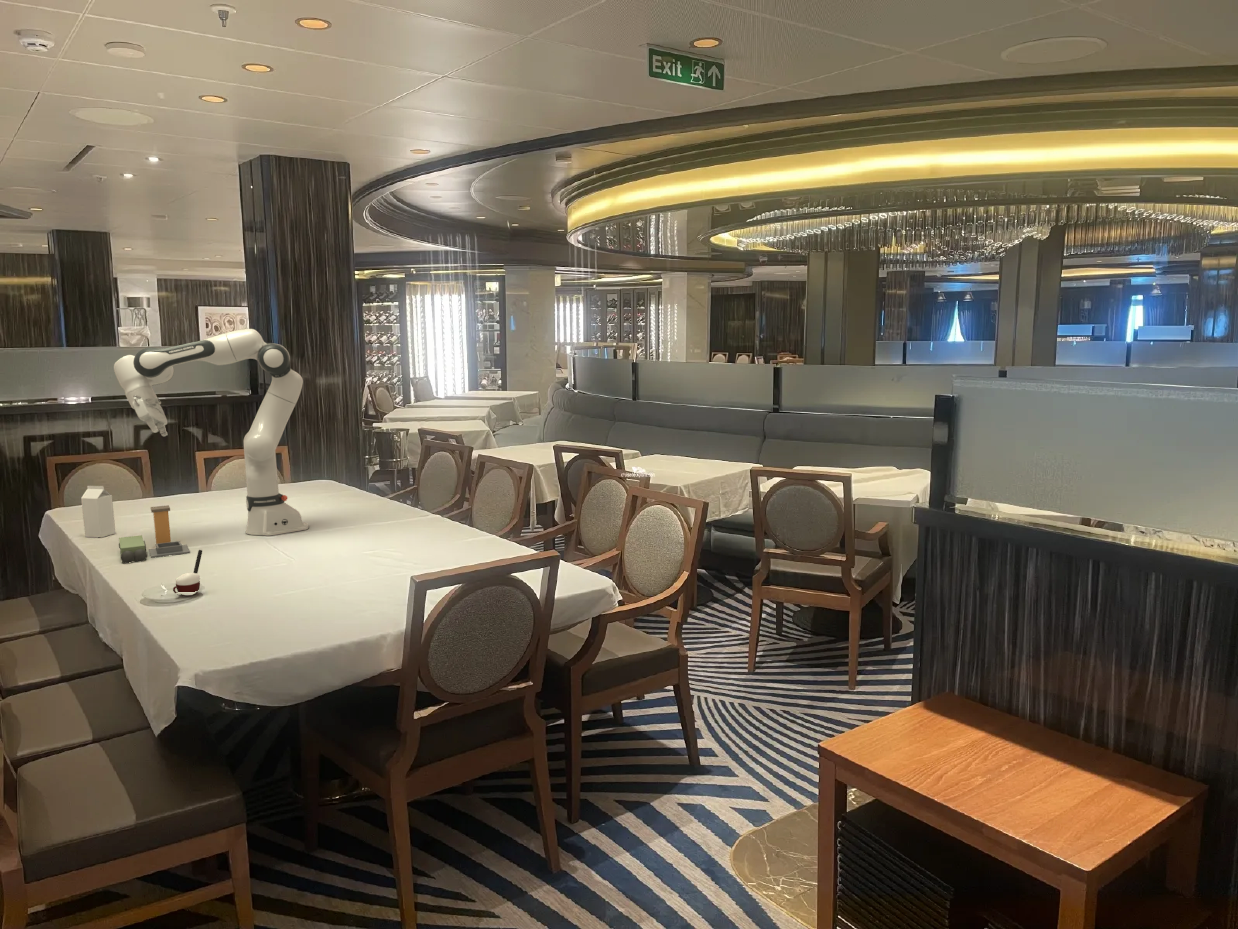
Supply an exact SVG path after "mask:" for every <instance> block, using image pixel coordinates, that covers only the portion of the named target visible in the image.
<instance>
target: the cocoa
mask: <svg viewBox="0 0 1238 929" xmlns="http://www.w3.org/2000/svg"><path fill="white" fill-rule="evenodd" d="M202 555H203V549H198V550H197V555H196V558H195V559H196V560H195V564H194V568H193V572H186V573H183V574H181V575H179V576H178V577H177V578H175V586H174V587H173V588H172V592H173V593H174V594H176V593H178V592H195V591H198V590H199V591H200V587H201V581H200V580H201V578H200V574H198V573H199V569H200V565H201V560H202ZM176 590H177V591H176ZM199 591H198V592H199Z"/></svg>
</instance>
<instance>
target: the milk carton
mask: <svg viewBox="0 0 1238 929" xmlns="http://www.w3.org/2000/svg"><path fill="white" fill-rule="evenodd" d="M86 488H87V489H86V490H85V491H84V493H83V495H82V496H81V498H80V499H81V500H80V501H81V509H82V520H83V527H84V528H83V530H84V536H85V538H98V537H102V538H104V537H107V536H112V535H114V534H116V533H117V532H116V525H115V524H116V522H115V514H114V503H113V495H112V494H111V493H110V492H109V491H108V490H106V489H105V486H104V485H87V486H86Z"/></svg>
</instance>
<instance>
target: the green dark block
mask: <svg viewBox="0 0 1238 929" xmlns="http://www.w3.org/2000/svg"><path fill="white" fill-rule="evenodd" d="M118 541H119V542H118V547H119V551H120V561H121V564H130V563H129V562H131V563H133V562H132V561H135V562H138V561H141V562H144V561H146V560H147V557H148V553H147V545H146V541H145V540H144V538H143V535H142V534H141V535H140V534H139V535H131V536H122V537H119V538H118ZM123 562H124V563H123Z"/></svg>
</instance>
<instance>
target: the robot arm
mask: <svg viewBox="0 0 1238 929" xmlns="http://www.w3.org/2000/svg"><path fill="white" fill-rule="evenodd" d="M249 359H253V360H256V361H257V362H258V364H259V365H260V368H261V369H262V370H264V371H265V372H267V373H268V375H270V376H271V383H270V385H269V386H268V389H267V391H266V393H265V395H264V397H263V400H262V401H261V404H260V406H259V408H258V410H257V412H256V415H255V416H254V417H255V418H254V419H253V421H252V424H251V426H250V429H249V431H248V432H247V433H246V434H245V435H244V438H243V451H244V452H243V455H244V467H245V480H246V483H245V484H246V492H247V493H246V496H245V497H246V500H245V502H246V510H247V524H246V529H245V534H247V535H250V536H251V535H252V536H268V537H269V536H276V535H282V534H289V533H293V532H300V531H306V530H308V529H309V523H307V522H305V521H303V519H302V516H301V513H300V511H298V510H297V509H296V508H294V507H293V506H291V505H290V504H288V503H286V501H287V500H288V496H287V495H285V494H283V493H280V492H279V481H278V479H279V478H278V468H277V454H276V450H277V448H278V445H279V443H280V442H281V439H282V436H283V433H284V430H285V429H286V427H287V423H288V421H289V419H290V417H291V415H292V413H293V411H294V408H295V407H296V405H297V403H298V400H299V397H300V395H301V392H302V388H303V385H304V380H303V377H302V376H301V375H300V373H298V372H297V371H295V370H293V369H292V368H291V356H290V353H289V351H288V350H287V349H286V348H285V346H283V345H282V344H278V343H270V342H269V343H268V342H265V341H264V339H263V337H262V335H261V333H259V331H257V330H256V329H254V328H245V329H238V330H233V331H228V332H226V333H225V332H224V333H221V334H218V335H215V336H211V337H209V338H205V339H201V340H198V341H193V342H189V343H188V342H187V343H184V344H183V343H182V344H180V345H174V346H171V347H166V348H156V347H155V348H154V347H146V348H143V349H140V350H139V351H138V352H137V353H136V354H135V355H132V354H127V355H124V356H122V357H120V358H118V359H117V360H116V361H115V362H114V364H113V371H114V374H115V377H116V379H117V382H118V383H119V385H120V387H121V388H122V389H123V391H124V393H125V397H126V399H127V401H128V403H129V405H130V407H131V408H132V409H133V410H134V411H135V414H136V415H137V417H138V419H139V420H140V421H142V422H144V423H146V425H147V426H148V427H149V428H150V430H151V432H152V433H155V434H156V433H158V432H159V434H160V435H161V436H162V437H166V436H168V432H167V429H166V425H168V420H167V417H166V415H165V412H164V410H163V407H162V406H161V404H162V401H161V400H160V399H159V397H158V396H157V394H156V392H155V390H154V389H153V386H158V385H161V384H165V383H167V382H169V381H170V380H171V379H172V378H173V376H174V373H175V369H174V366H177V365H181V364H186V363H190V362H197V361H198V362H206V363H209V364H213V365H215V366H225V365H231V364H235V363H237V362H241V361H244V360H249Z"/></svg>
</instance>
